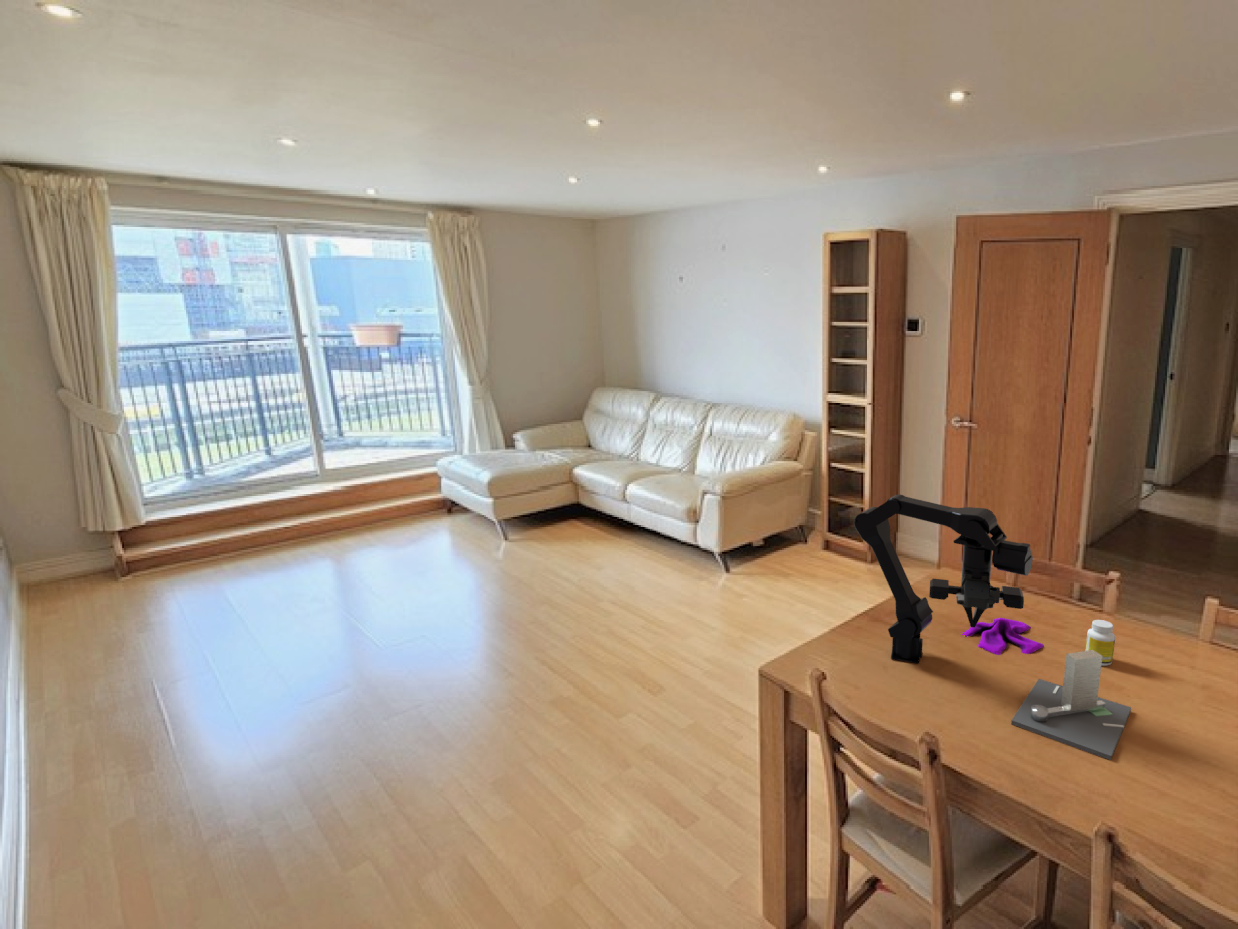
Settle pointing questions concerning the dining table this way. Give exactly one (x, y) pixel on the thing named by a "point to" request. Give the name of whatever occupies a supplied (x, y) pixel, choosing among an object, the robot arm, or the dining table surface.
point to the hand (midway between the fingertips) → (972, 626)
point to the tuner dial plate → (1074, 721)
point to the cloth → (1003, 636)
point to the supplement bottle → (1101, 640)
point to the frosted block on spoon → (1076, 687)
